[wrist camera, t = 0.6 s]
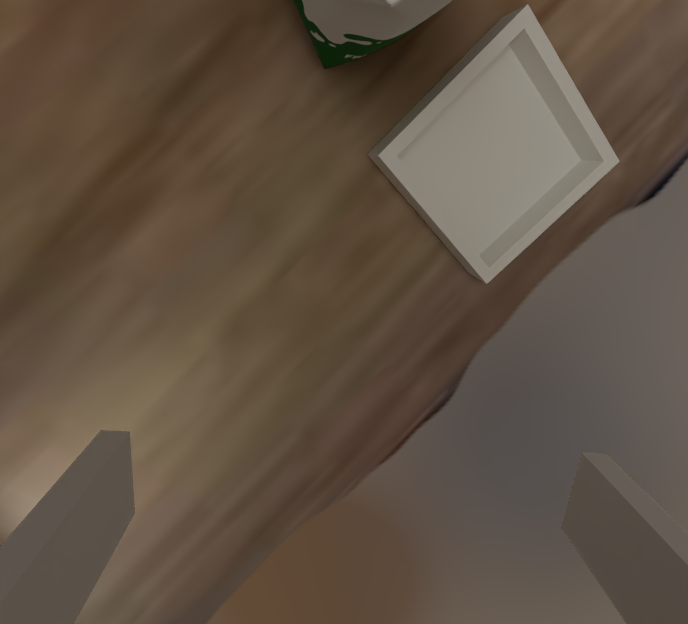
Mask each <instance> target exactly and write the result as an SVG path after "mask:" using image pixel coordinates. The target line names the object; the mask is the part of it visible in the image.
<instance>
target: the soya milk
mask: <svg viewBox="0 0 688 624" xmlns="http://www.w3.org/2000/svg"><path fill="white" fill-rule="evenodd" d="M451 1H453V0H294V3H295V5H296V7H297V9H298V11H299V14H300V16H301V18H302V20H303V22H304V25H305V27H306V29H307V31H308V33H309V36H310V38H311V40H312V42H313V44H314V47H315V49H316V51H317V53H318V55H319V58H320V60H321V62H322V64H323V66H324V68H325V69H326V68H329V67H332V66H335V65H338V64H341V63H345V62H348V61H351V60H354V59H357V58H360V57H363V56H366V55H368V54H370V53H373V52H374V51H376V50H378V49H380V48H382V47H384V46H387V45H389V44H391V43H393V42H395V41H396V40H398V39H400V38H402V37H403V36H405V35H406V34H408V33H409V32H410V31H412V30H413V29H415V28H416V27H417V26H419V25H420V24H421V23H423V22H424V21H425V20H427V19H428V18H429V17H431V16H432V15H434V14H435V13H436V12H438V11H439V10H440V9H442V8H443V7H444V6H446V5H447V4H448V3H450V2H451Z"/></svg>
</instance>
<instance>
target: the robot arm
mask: <svg viewBox="0 0 688 624" xmlns="http://www.w3.org/2000/svg"><path fill="white" fill-rule="evenodd" d="M134 514H135V507H134V492H133V476H132V460H131V444H130V432H127V431H105V430H101V431H100V432H99V433H98V435H97V436H96V437H95V438H94V439H93V440H92V442H91V443H90V444H89V445H88V446H87V447H86V448H85V450H84V451H83V452H82V453H81V454H80V455H79V456H78V458H77V459H76V460H75V461H74V462H73V463H72V465H71V466H70V467H69V468H68V469H67V470H66V471H65V473H64V474H63V475H62V476H61V477H60V478H59V480H58V481H57V482H56V483H55V484H54V485H53V486H52V488H51V489H50V490H49V491H48V492H47V493H46V495H45V496H44V497H43V498H42V499H41V500H40V501H39V503H38V504H37V505H36V506H35V507H34V508H33V509H32V511H31V512H30V513H29V514H28V515H27V516H26V518H25V519H24V520H23V521H22V522H21V523H20V524H19V526H18V527H17V528H16V529H15V530H14V531H13V533H12V534H11V535H10V536H9V537H8V538H7V539H6V541H5V542H4V543H3V544H2V545H1V546H0V624H74V622H75V620H76V619H77V617H78V615H79V613H80V611H81V610H82V608H83V606H84V604H85V602H86V600H87V599H88V597H89V595H90V593H91V591H92V590H93V588H94V586H95V584H96V582H97V581H98V579H99V577H100V575H101V573H102V572H103V570H104V568H105V566H106V564H107V563H108V561H109V559H110V557H111V555H112V554H113V552H114V550H115V548H116V546H117V545H118V543H119V541H120V539H121V537H122V536H123V534H124V532H125V530H126V528H127V527H128V525H129V523H130V521H131V519H132V518H133V516H134ZM561 528H562V530H563V531H564V533H565V534H566V536H567V537H568V539H569V540H570V541H571V543H572V544H573V546H574V547H575V549H576V550H577V552H578V553H579V555H580V556H581V558H582V559H583V560H584V562H585V563H586V565H587V566H588V568H589V569H590V571H591V572H592V574H593V575H594V577H595V578H596V580H597V581H598V583H599V584H600V586H601V587H602V588H603V590H604V591H605V593H606V594H607V596H608V597H609V599H610V600H611V602H612V603H613V605H614V606H615V608H616V609H617V610H618V612H619V613H620V615H621V616H622V618H623V619H624V621H625V622H626V623H627V624H688V533H687V532H686V531H685V530H684V529H683V528H682V527H681V526H680V525H679V524H678V523H677V522H676V521H675V520H674V519H673V518H672V517H671V516H669V514H668V513H667V512H666V511H665V510H663V509H662V508H661V507H660V506H659V505H658V504H657V503H656V502H655V501H654V500H653V499H652V498H651V497H650V496H649V495H648V494H647V493H646V492H645V491H644V490H643V489H642V488H641V487H640V486H639V485H638V484H637V483H636V482H635V481H634V480H633V479H632V478H631V477H630V476H629V475H628V474H627V473H626V472H625V471H623V469H621V468H620V467H619V466H618V465H617V464H616V463H615V462H614V461H613V460H612V459H611V458H610V457H609V456H608V455H607V454H602V453H601V454H600V453H582V454H581V458H580V461H579V465H578V468H577V472H576V476H575V479H574V483H573V486H572V490H571V494H570V497H569V501H568V504H567V508H566V512H565V515H564V519H563V522H562V526H561Z"/></svg>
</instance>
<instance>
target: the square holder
mask: <svg viewBox="0 0 688 624" xmlns="http://www.w3.org/2000/svg"><path fill="white" fill-rule="evenodd" d="M367 155H368V156H369V157H370V158H371V160H372V161H373V162H374V163H375V164H376V165H377V167H378V168H379V169H380V170H381V171H382V172H383V174H384V175H385V176H386V177H387V178H388V179H389V181H390V182H391V183H392V184H393V185H394V186H395V188H396V189H397V190H398V191H399V192H400V193H401V195H402V196H403V197H404V198H405V199H406V200H407V202H408V203H409V204H410V205H411V206H412V207H413V209H414V210H415V211H416V212H417V213H418V214H419V216H420V217H421V218H422V219H423V220H424V221H425V223H426V224H427V225H428V226H429V227H430V228H431V230H432V231H433V232H434V233H435V234H436V235H437V237H438V238H439V239H440V240H441V241H442V242H443V244H444V245H445V246H446V247H447V248H448V250H449V251H450V252H451V253H452V254H453V255H454V257H455V258H456V259H457V260H458V261H459V262H460V264H461V265H462V266H463V267H464V268H465V269H466V271H467V272H468V273H470V274H471V275H473V276H474V277H476V278H478V279H479V280H481V281H483V282H484V283H486V284H487V283H489V282H490V281H491V280H492V279H493V278H494V277H495V276H496V275H497V274H498V273H499V272H500V271H502V270H503V269H504V268H505V267H506V266H507V265H508V264H509V263H510V262H511V261H512V260H514V259H515V258H516V257H517V256H518V255H519V254H520V253H521V252H522V251H523V250H524V249H525V248H527V247H528V246H529V245H530V244H531V243H532V242H533V241H534V240H535V239H536V238H537V237H538V236H540V235H541V234H542V233H543V232H544V231H545V230H546V229H547V228H548V227H549V226H550V225H551V224H553V223H554V222H555V221H556V220H557V219H558V218H559V217H560V216H561V215H562V214H563V213H564V212H566V211H567V210H568V209H569V208H570V207H571V206H572V205H573V204H574V203H575V202H576V201H577V200H579V199H580V198H581V197H582V196H583V195H584V194H585V193H586V192H587V191H588V190H589V189H590V188H592V187H593V186H594V185H595V184H596V183H597V182H598V181H599V180H600V179H601V178H602V177H603V176H605V175H606V174H607V173H608V172H609V171H610V170H611V169H612V168H613V167H614V166H615V165H616V164H618V163H619V162H620V161H619V160H618V158H617V156H616V154H615V153H614V151H613V149H612V148H611V146H610V144H609V142H608V141H607V139H606V137H605V136H604V134H603V132H602V130H601V129H600V127H599V125H598V124H597V122H596V120H595V118H594V117H593V115H592V113H591V112H590V110H589V108H588V106H587V105H586V103H585V101H584V100H583V98H582V96H581V94H580V93H579V91H578V89H577V88H576V86H575V84H574V82H573V81H572V79H571V77H570V76H569V74H568V72H567V70H566V69H565V67H564V65H563V64H562V62H561V60H560V59H559V57H558V55H557V53H556V52H555V50H554V48H553V47H552V45H551V43H550V41H549V40H548V38H547V36H546V35H545V33H544V31H543V29H542V28H541V26H540V24H539V23H538V21H537V19H536V17H535V16H534V14H533V12H532V11H531V9H530V7H529V5H528V4H527V5H525V6H523V7H521V8H519V9H517V10H515V11H514V12H512V13H510V14H508V15H506V16H504V17H502V18H501V19H500V20H499V21H498V22H497V23H496V24H495V25H494V26H493V27H492V28H491V29H490V30H489V31H488V32H487V33H486V34H485V35H484V36H483V37H482V38H481V39H480V40H479V41H478V42H477V43H476V44H475V45H474V46H473V47H472V48H471V49H470V50H469V51H468V52H467V53H466V54H465V55H464V56H463V57H462V58H461V59H460V60H459V62H458V63H457V64H456V65H455V66H454V67H453V68H452V69H451V70H450V71H449V72H448V73H447V74H446V75H445V76H444V77H443V78H442V79H441V80H440V81H439V82H438V83H437V84H436V85H435V86H434V87H433V88H432V89H431V90H430V91H429V92H428V93H427V94H426V95H425V96H424V97H423V98H422V99H421V100H420V101H419V102H418V103H417V104H416V105H415V106H414V107H413V108H412V109H411V110H410V111H409V112H408V113H407V114H406V115H405V116H404V117H403V118H402V119H401V120H400V121H399V122H398V123H397V125H396V126H395V127H394V128H393V129H392V130H391V131H390V132H389V133H388V134H387V135H386V136H385V137H384V138H383V139H382V140H381V141H380V142H379V143H378V144H377V145H376V146H375V147H374V148H373V149H372V150H371V151H370V152H369V153H368V154H367Z"/></svg>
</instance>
